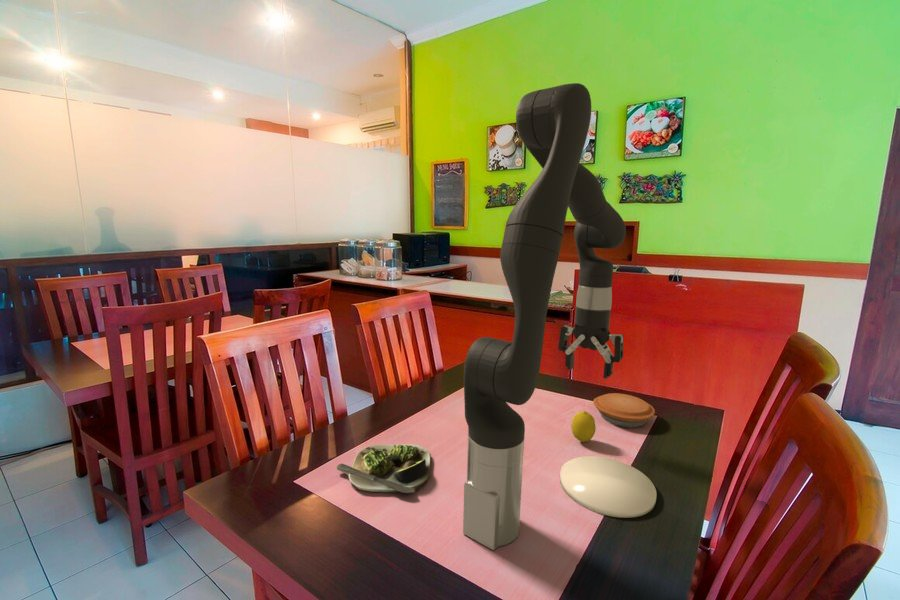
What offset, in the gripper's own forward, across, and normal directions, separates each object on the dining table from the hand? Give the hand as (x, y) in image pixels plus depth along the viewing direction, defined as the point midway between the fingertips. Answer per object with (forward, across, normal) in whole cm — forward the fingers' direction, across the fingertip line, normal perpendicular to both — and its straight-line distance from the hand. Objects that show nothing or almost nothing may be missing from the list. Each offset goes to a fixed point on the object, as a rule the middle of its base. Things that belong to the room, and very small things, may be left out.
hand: (587, 373), depth 97 cm
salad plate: (+18, -27, -37) cm, 49 cm away
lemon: (+18, 0, 0) cm, 18 cm away
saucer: (+17, +10, -14) cm, 25 cm away
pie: (+18, +4, +20) cm, 27 cm away
